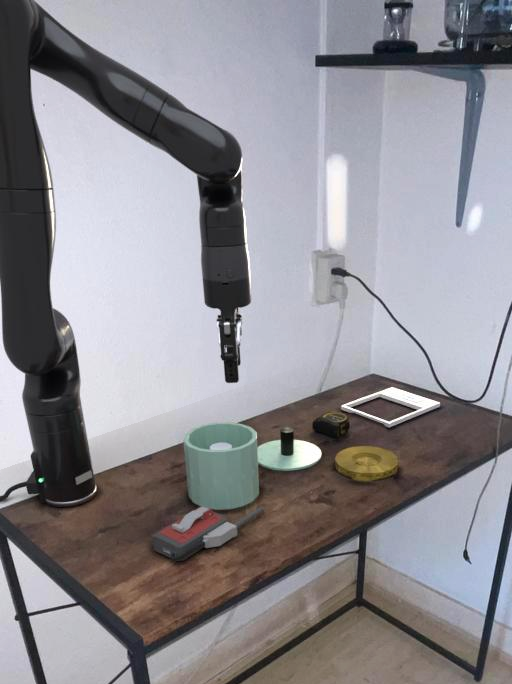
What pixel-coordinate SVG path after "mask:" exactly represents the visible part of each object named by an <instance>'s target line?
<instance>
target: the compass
mask: <svg viewBox="0 0 512 684" xmlns="http://www.w3.org/2000/svg"><path fill="white" fill-rule="evenodd" d="M334 458H335V459H334V468H335V470H336V471H337V472H338V473H340V474H341V475H342V476H345V477H347V478H351V479H352V480H354V481H359V482H373V481H377V480H384V479H387V478H389V477H392V476H394V475H396V474H397V472H398V469H399V458H398V456H397V455H396V454H395V453H394V452H392V451H391V450H388V449H386V448H382V447H378V446H371V445H358V446H351V447H347V448H345V449H342V450H341V451H338V452H337V453H336V455H335V456H334Z"/></svg>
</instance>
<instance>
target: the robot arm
mask: <svg viewBox="0 0 512 684" xmlns="http://www.w3.org/2000/svg"><path fill="white" fill-rule="evenodd" d="M31 70H32V71H34V72H36V73H38V74H41V75H43V76H46V77H47V78H49V79H51V80H53V81H55V82H57V83H59V84H60V85H62V86H64V87H65V88H67V89H69V90H70V91H72V92H73V93H75V94H76V95H78V96H79V97H80V98H82V99H84V101H86V102H87V103H88V104H90V105H91V106H92V107H94V108H95V109H96V110H98V111H99V112H100V113H102V115H105V117H107V118H108V119H110V120H111V121H112V122H114V123H115V124H117V125H118V126H120V127H122V128H123V129H125V130H126V131H128V132H129V133H131V134H133V135H134V136H136V137H138V138H139V139H141V140H142V141H143V142H145V143H148V145H150V146H152V147H154V148H156V149H158V150H160V151H162V152H164V153H166V154H167V155H169V156H170V157H171V158H173V159H174V160H175V161H177V162H178V163H179V164H181V165H182V166H183V167H184V168H186V169H187V170H189V171H191V172H192V173H193V174H195V175H196V180H197V188H198V196H199V212H198V213H199V214H198V222H199V235H200V248H201V249H200V250H201V251H200V264H201V277H202V287H203V288H202V289H203V301H204V304H205V306H206V307H208V308H210V309H214V310H215V309H218V310H219V312H220V314H217V318H216V329H217V331H218V345H219V347H220V359H221V361H222V362H223V369H224V370H223V372H224V381H225V383H226V384H237V383H239V381H240V380H239V379H240V375H239V367H240V366H241V362H242V361H241V346H242V345H241V343H242V342H241V341H242V340H241V336H242V335H243V334H242V333H243V328H242V325H243V314H242V313H240V310H239V308H240V309H242V308H245V307H248V306H249V305H250V304H251V303H252V301H253V299H252V285H251V282H252V281H251V268H250V267H251V266H250V265H251V264H250V254H249V250H248V243H247V239H248V238H247V223H246V214H245V208H244V204H243V173H242V171H243V167H242V165H243V151H242V146H241V145H240V143H239V141H238V139H237V138H236V137H235V136H234V134H232V133H231V132H230V131H228V130H226V129H224V128H222V127H220V126H219V125H217V124H215V123H213V122H212V121H211V120H208V119H207V118H205V117H203V116H202V115H200V114H198V113H196V112H195V111H192V110H191V109H189V107H187V106H186V105H185V104H184V103H182V102H181V100H179V99H178V98H177V97H176V96H174V95H172V94H170V93H169V92H168V91H166V89H165V90H164V89H163V88H162V87H160V86H159V85H157V84H155V83H154V82H152V81H151V80H149V79H148V78H146V77H145V76H143V75H141V74H140V73H138V72H136V71H134V70H133V69H131V68H129V67H128V66H126V65H124V64H123V63H121V62H119V61H117V60H115V59H113V58H112V57H110V56H108V55H106V54H104V53H102V52H101V51H99V50H98V49H96V48H94V47H93V46H91V45H90V44H89V43H87V42H85V41H84V40H83V39H81V38H80V37H78V36H77V35H75V34H74V33H73V32H71V31H70V30H69V29H67V27H65V26H64V25H62V24H61V23H60V22H59V21H58V20H57V19H56V18H55V17H53V16H52V14H50V13H49V12H48V11H46V9H45V8H43V7H42V5H40V4H39V3H38V2H37V1H36V0H0V299H1V302H0V303H1V331H2V332H1V335H2V344H3V349H4V352H5V354H6V356H7V358H8V360H9V362H10V363H11V364H12V365H13V366H14V367H15V368H16V369H17V370H18V371H20V372H21V373H22V374H24V384H23V389H22V394H21V399H22V404H23V408H24V413H25V414H24V415H25V418H26V422H27V426H28V431H29V436H30V440H31V445H32V450H33V451H32V452H31V453H30V461H31V465H32V472H31V473H30V475H29V477H27V480H25V481H23V482H19V483H16V484H14V485H12V486H10V487H9V488H7V490H6V491H5V492H4V494H2V495H0V502H2V501H4V500H7V498H9V497H10V495H11V493H13V492H14V491H16V490H18V489H21V488H25V487H26V492H27V495H38V497H39V501H40V504H47V505H49V506H52V507H55V508H71V507H75V506H79V505H83V504H85V503H87V502H89V501H91V500H92V499H94V497H95V496H96V495H97V493H98V489H97V484H96V479H95V474H94V468H93V463H92V457H91V451H90V446H89V440H88V433H87V429H86V423H85V417H84V412H83V411H84V410H83V405H82V399H81V383H82V381H81V371H80V364H79V355H78V349H77V342H76V337H75V333H74V331H73V328H72V325H71V324H70V323H71V322H70V321H69V320H68V318H67V317H66V316H65V315H64V314H63V313H62V312H61V311H59V310H58V309H56V308H55V307H53V301H52V293H51V274H52V267H53V258H54V252H55V244H56V235H57V211H56V209H57V208H56V200H55V189H54V179H53V175H52V169H51V164H50V161H49V156H48V153H47V150H46V147H45V143H44V139H43V136H42V134H41V130H40V126H39V125H38V124H39V123H38V120H37V117H36V113H35V107H34V101H33V100H34V99H33V91H32V89H33V88H32V73H31V72H32V71H31Z"/></svg>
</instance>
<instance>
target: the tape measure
mask: <svg viewBox="0 0 512 684" xmlns="http://www.w3.org/2000/svg"><path fill="white" fill-rule="evenodd" d="M350 425H351V424H350V421H349V417H348V416H347V415H346V414H345V413H343V412H337V411H329V412H328V411H327V412H325V413H322V414H320V415H319V416H318V417H316V418H314V420H313V421H312V430H313V431H315V432H317V433H319V434H323V435H326V436H328V437H332V438H336V439H338V438H340V437H341V436H343V435H345V434H347V433H348V431H349V429H350Z"/></svg>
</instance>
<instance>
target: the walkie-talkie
mask: <svg viewBox="0 0 512 684" xmlns="http://www.w3.org/2000/svg"><path fill="white" fill-rule="evenodd" d="M264 511H265V509H264V507H262V506H259V507H258V508H256V509H255V510H253V511H252V512H250V513H249V514H247V515H246V516H244V517H242V518H241V519H239V520H238V521H235V522H233V523H231V522H229V521H228V518H227V517H226V516H225V515H224V514H221V513H219V512H216V511H214V509H209V508H205V507H203V506H198V507H197V508H195V509H193V510H192V511H190V512H188V513H186V514H185V515H184V516H182V517H180V518H179V519H177V520H176V521H174V522H172V523H170V524H168V525H167V526H165V527H164V528H162V529H160V530H158V531H157V532H155V533H153V534H152V545H153V551H154V552H157V553H158V554H160V555H163V556H165V557H168V558H170V560H171V561H172V562H183V561H185V560H187V559H188V558H189V557H191V556H193V555H195V554H196V553H197V552H199V551H200V550H202V549H209V548H216V547H220V546H222V545H224V544H226V543H227V542H229V541H230V540H231V539H233V538H236V537H237V536H238V530H240V529H241V527H243V526H244V525H246V524H247V523H249V522H250V521H252V520H253V519H255V517H256V516H258V515H260V514H261V513H263V512H264Z"/></svg>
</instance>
